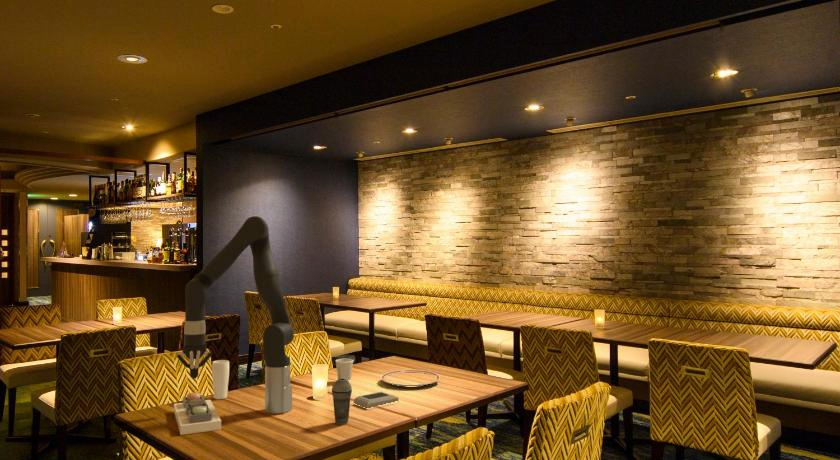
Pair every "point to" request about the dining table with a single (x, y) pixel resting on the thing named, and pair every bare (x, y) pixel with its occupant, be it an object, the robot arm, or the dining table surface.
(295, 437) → the dining table surface
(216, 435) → the dining table surface
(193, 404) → the slate button
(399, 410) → the dining table surface
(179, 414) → the button console
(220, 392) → the white tumbler
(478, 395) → the dining table surface
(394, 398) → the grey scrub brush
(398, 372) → the dinner plate
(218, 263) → the robot arm
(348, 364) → the dixie cup
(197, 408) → the sage button
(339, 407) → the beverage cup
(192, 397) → the terracotta button
